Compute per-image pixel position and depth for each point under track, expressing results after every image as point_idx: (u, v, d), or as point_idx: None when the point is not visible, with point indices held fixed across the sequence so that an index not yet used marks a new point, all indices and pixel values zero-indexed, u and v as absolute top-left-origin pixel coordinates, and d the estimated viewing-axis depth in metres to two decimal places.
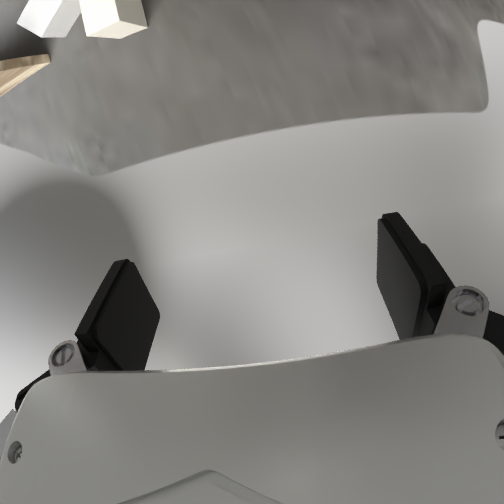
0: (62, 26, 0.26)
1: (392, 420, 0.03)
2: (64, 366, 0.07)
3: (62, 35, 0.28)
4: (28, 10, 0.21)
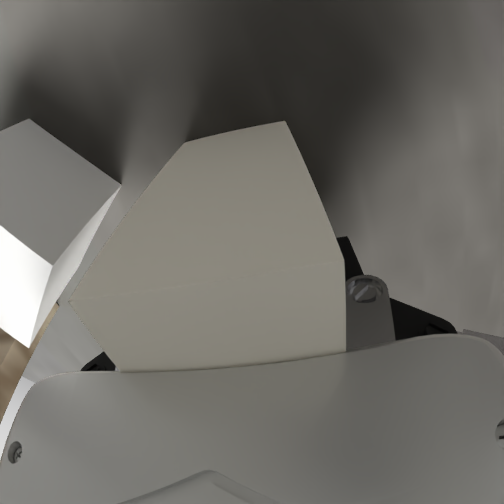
0: (67, 276, 0.12)
1: (392, 420, 0.03)
2: None
3: (71, 275, 0.14)
4: None
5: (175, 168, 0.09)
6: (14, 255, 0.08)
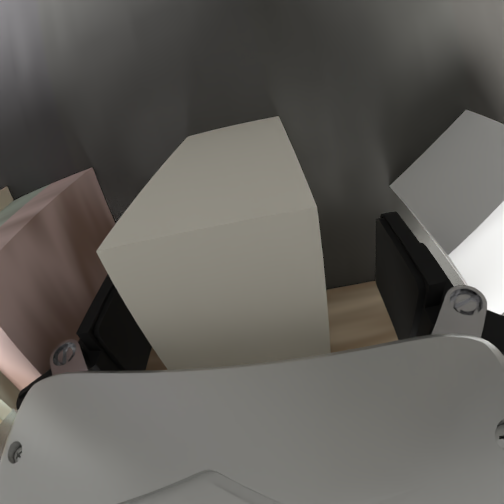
0: None
1: (392, 420, 0.03)
2: (65, 365, 0.07)
3: None
4: (501, 229, 0.08)
5: (181, 156, 0.10)
6: None
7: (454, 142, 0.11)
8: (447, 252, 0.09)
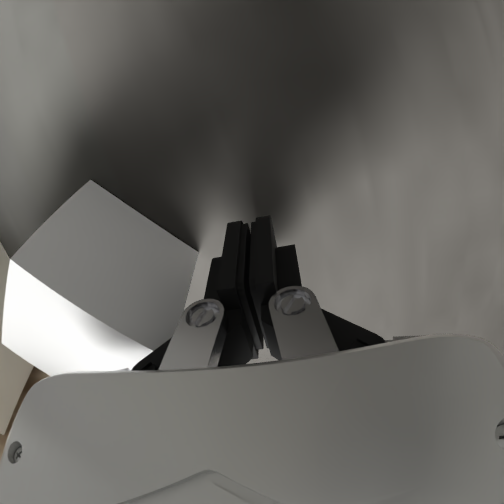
0: None
1: (392, 420, 0.03)
2: (194, 329, 0.08)
3: None
4: (22, 332, 0.09)
5: None
6: (123, 350, 0.09)
7: None
8: None
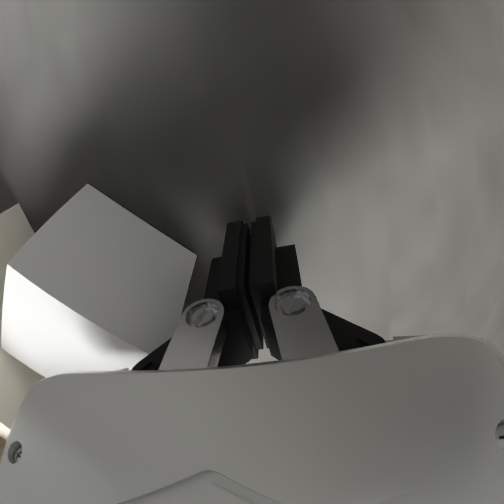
0: None
1: (392, 420, 0.03)
2: (194, 329, 0.08)
3: None
4: (21, 337, 0.09)
5: None
6: (120, 353, 0.09)
7: None
8: None
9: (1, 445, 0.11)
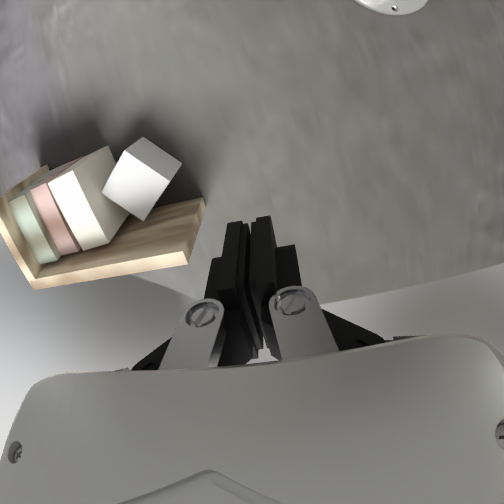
0: None
1: (392, 420, 0.03)
2: (194, 329, 0.08)
3: None
4: (116, 182, 0.31)
5: (74, 164, 0.32)
6: (155, 179, 0.31)
7: None
8: (101, 192, 0.32)
9: (76, 258, 0.33)
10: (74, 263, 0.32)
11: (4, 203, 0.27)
